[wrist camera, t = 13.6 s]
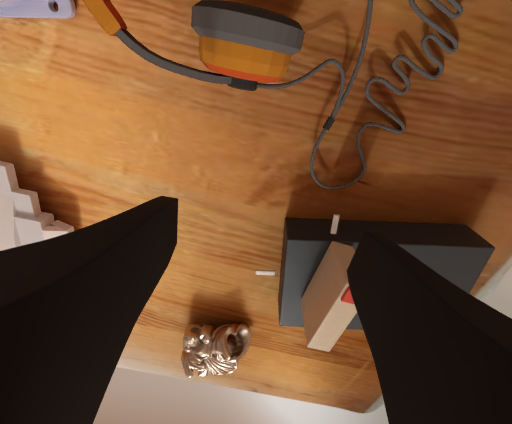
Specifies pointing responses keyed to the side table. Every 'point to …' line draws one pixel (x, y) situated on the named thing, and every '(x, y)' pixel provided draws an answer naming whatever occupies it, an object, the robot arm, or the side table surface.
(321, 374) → the side table surface
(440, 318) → the robot arm
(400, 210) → the side table surface
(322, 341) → the handle
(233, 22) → the headphones
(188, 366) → the ornament
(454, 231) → the panel
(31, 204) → the toy rocket
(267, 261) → the side table surface
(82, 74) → the side table surface
